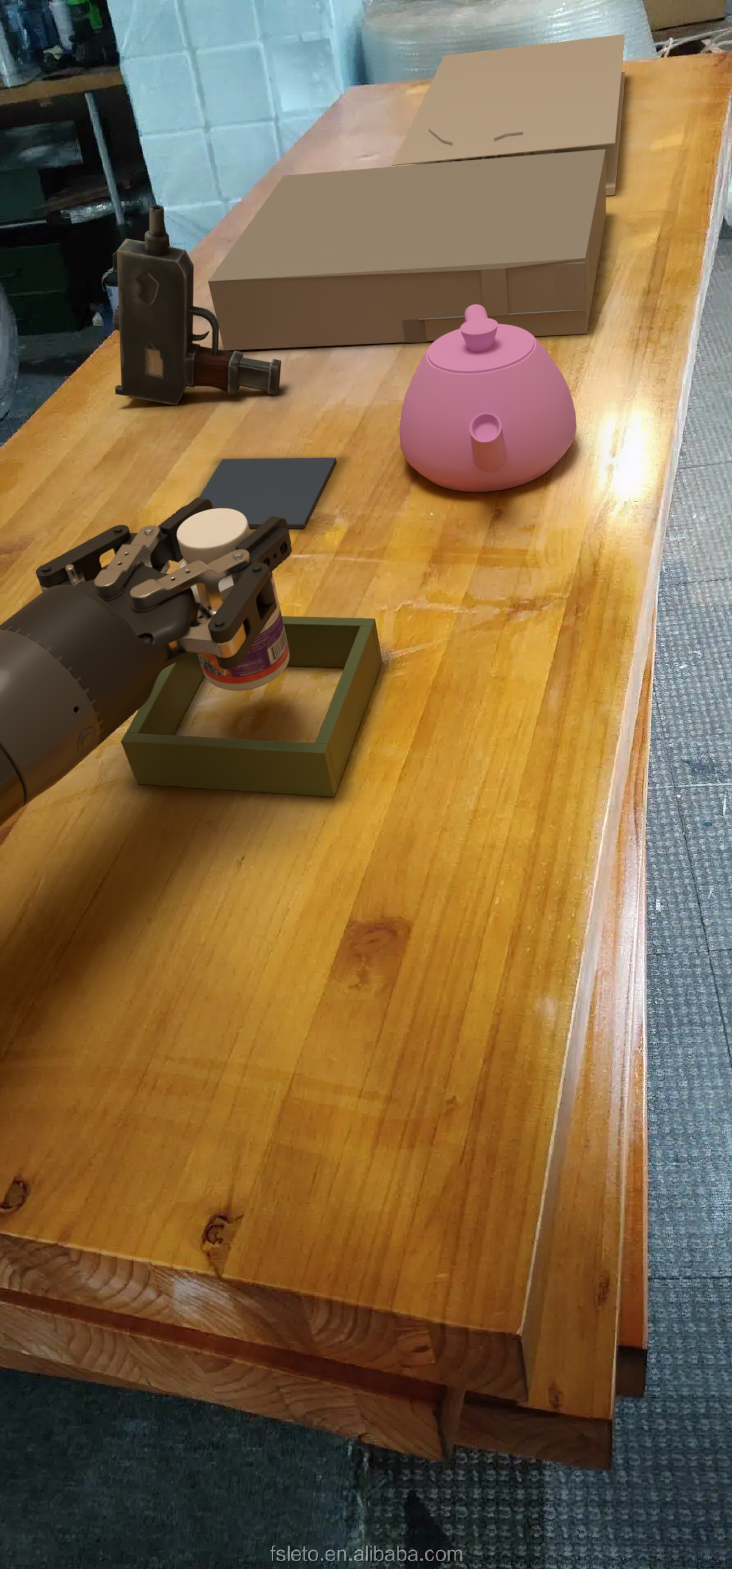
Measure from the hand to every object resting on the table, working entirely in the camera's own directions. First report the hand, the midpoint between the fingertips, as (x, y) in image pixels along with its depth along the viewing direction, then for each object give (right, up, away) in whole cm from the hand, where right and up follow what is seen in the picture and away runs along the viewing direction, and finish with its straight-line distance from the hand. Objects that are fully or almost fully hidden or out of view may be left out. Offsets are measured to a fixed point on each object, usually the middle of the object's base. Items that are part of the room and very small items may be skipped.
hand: (244, 521), depth 68 cm
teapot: (+17, +11, +27) cm, 33 cm away
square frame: (0, -11, +7) cm, 13 cm away
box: (+13, +36, +55) cm, 67 cm away
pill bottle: (0, -8, +5) cm, 9 cm away
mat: (-1, +8, +28) cm, 29 cm away
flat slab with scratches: (+27, +66, +83) cm, 109 cm away
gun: (-8, +21, +42) cm, 48 cm away
